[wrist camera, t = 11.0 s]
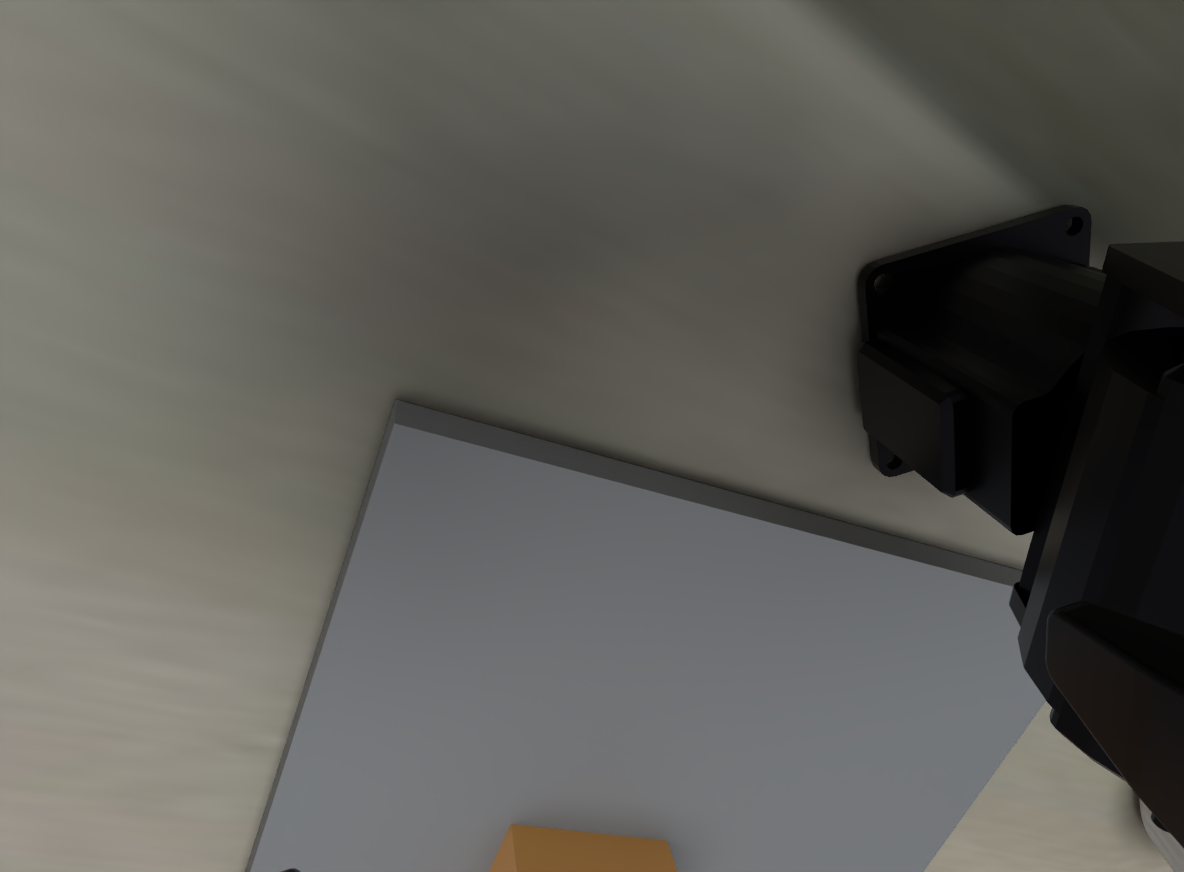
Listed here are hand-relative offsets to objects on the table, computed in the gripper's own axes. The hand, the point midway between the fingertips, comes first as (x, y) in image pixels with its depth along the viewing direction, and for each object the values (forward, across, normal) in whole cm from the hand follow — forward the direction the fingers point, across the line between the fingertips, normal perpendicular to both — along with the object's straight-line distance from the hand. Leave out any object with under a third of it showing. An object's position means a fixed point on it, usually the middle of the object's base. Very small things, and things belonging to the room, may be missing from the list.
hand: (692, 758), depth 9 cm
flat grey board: (+13, -1, +14) cm, 19 cm away
